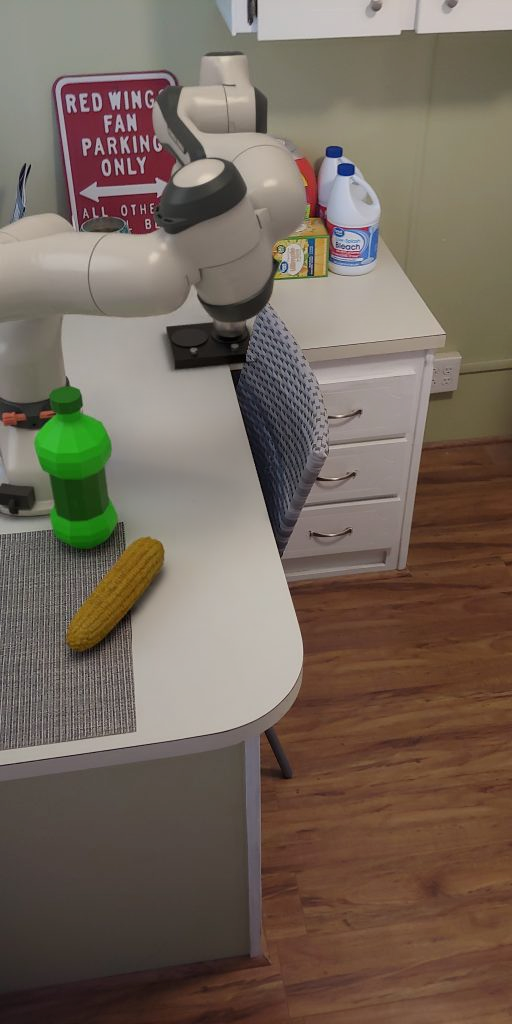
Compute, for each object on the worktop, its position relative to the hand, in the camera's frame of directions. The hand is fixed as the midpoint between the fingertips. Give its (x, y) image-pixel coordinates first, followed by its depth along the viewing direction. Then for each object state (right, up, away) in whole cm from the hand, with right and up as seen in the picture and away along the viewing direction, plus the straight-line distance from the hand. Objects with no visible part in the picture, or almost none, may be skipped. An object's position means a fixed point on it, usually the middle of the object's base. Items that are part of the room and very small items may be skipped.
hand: (227, 228), depth 171 cm
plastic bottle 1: (-20, -56, -32) cm, 68 cm away
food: (-13, -65, -43) cm, 80 cm away
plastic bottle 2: (0, -17, +14) cm, 22 cm away
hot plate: (-4, -20, +14) cm, 24 cm away
